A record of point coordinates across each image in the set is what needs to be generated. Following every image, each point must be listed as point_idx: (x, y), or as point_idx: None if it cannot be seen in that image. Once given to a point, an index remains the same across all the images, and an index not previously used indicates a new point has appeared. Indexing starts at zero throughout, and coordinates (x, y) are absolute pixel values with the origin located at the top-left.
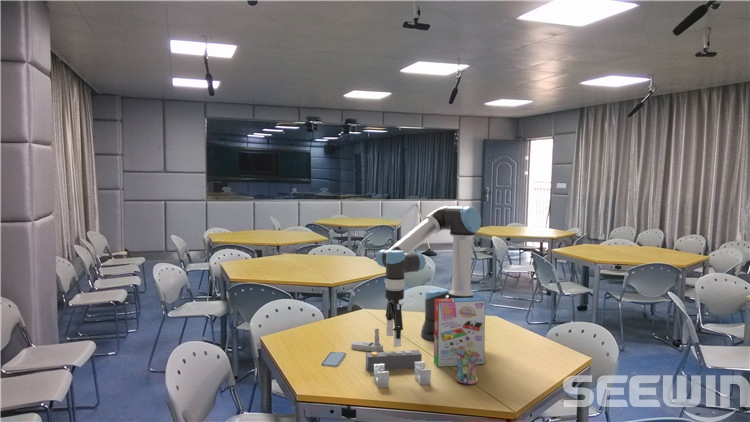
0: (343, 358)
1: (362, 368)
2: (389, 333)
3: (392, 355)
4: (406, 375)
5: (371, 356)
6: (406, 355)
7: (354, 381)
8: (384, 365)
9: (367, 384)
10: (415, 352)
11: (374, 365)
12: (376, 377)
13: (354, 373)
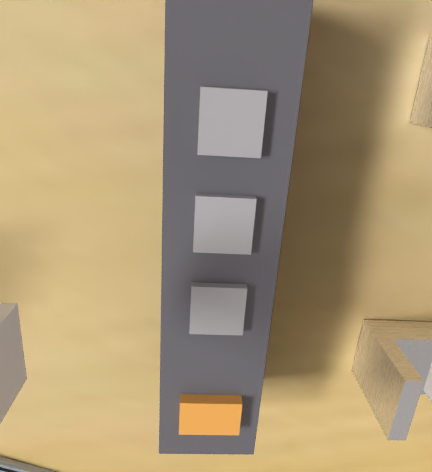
0: (23, 464)
1: None
2: (7, 372)
3: (267, 289)
4: (381, 175)
5: (247, 434)
6: (291, 160)
7: (354, 454)
8: (421, 377)
9: None
10: (243, 31)
11: (404, 437)
12: None
13: None
